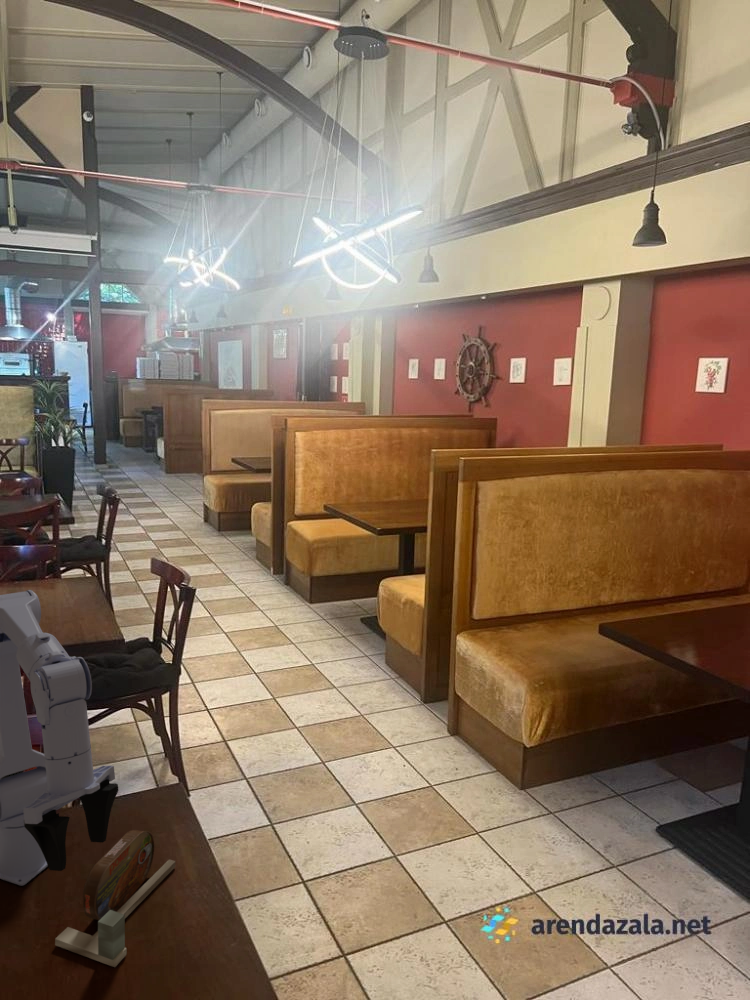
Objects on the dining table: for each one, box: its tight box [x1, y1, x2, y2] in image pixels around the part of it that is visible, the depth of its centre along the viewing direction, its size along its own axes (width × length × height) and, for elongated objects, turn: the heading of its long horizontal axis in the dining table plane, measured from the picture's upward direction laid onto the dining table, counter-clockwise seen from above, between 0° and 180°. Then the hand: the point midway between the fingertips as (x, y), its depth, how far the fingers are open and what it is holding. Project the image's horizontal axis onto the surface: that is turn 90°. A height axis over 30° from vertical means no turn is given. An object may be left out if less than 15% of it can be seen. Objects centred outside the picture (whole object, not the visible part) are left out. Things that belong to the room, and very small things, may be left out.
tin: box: [82, 829, 155, 921], centre depth 109 cm, size 15×3×8 cm, turn 165°
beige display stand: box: [54, 859, 176, 968], centre depth 107 cm, size 10×20×6 cm, turn 161°
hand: (78, 854), depth 96 cm, fingers open, 7 cm apart
